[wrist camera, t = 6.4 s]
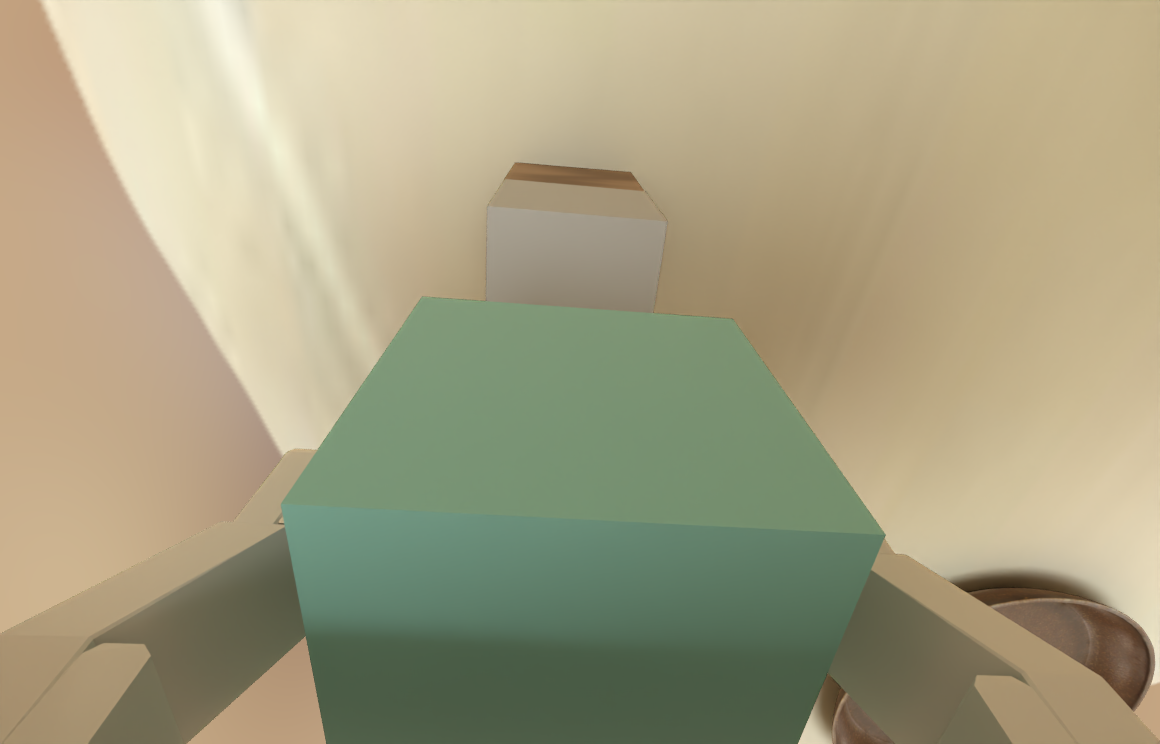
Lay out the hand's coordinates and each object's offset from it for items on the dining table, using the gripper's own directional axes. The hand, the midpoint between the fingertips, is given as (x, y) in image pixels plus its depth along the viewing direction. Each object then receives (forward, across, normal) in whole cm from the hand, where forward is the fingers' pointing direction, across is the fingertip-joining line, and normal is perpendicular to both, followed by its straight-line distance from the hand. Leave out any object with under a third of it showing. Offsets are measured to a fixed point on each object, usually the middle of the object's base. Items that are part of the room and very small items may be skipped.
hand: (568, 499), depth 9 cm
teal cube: (+2, 0, 0) cm, 2 cm away
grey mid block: (+14, 0, 0) cm, 14 cm away
